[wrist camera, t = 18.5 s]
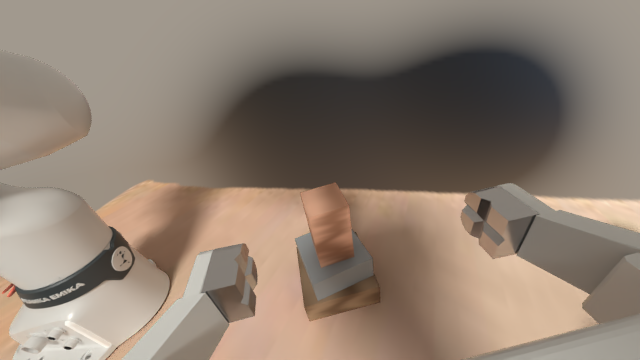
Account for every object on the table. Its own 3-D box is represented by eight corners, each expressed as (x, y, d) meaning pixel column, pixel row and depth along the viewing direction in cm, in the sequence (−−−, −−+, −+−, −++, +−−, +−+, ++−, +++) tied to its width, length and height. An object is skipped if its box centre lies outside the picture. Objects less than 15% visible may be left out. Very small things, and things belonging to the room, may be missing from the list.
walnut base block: (310, 322, 36) (304, 307, 33) (301, 262, 45) (296, 247, 42) (380, 303, 36) (379, 286, 34) (357, 248, 45) (355, 232, 43)
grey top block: (317, 301, 34) (313, 284, 31) (299, 254, 41) (294, 238, 39) (373, 275, 35) (372, 258, 33) (346, 235, 43) (344, 219, 40)
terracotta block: (321, 267, 33) (308, 217, 27) (312, 241, 37) (300, 192, 31) (354, 256, 34) (348, 205, 28) (342, 231, 38) (335, 182, 32)
